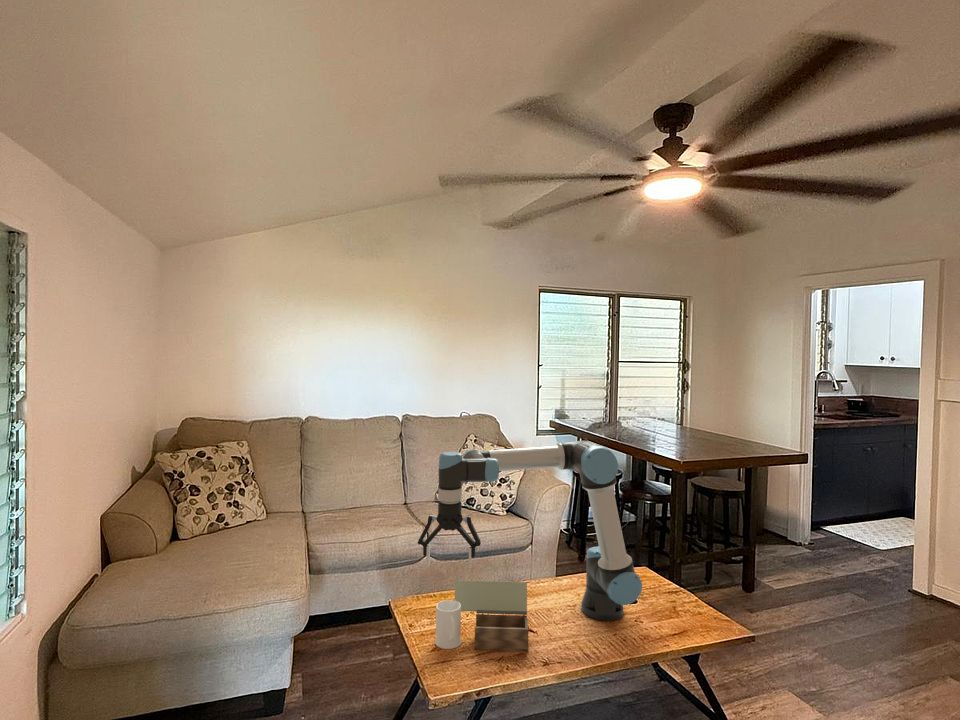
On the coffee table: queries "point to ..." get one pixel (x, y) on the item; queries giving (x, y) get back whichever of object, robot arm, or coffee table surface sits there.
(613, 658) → the coffee table surface
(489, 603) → the lid
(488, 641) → the cable box
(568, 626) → the coffee table surface
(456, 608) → the mug
